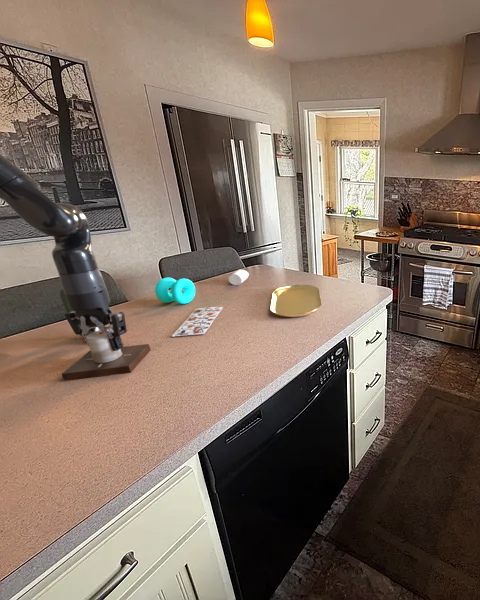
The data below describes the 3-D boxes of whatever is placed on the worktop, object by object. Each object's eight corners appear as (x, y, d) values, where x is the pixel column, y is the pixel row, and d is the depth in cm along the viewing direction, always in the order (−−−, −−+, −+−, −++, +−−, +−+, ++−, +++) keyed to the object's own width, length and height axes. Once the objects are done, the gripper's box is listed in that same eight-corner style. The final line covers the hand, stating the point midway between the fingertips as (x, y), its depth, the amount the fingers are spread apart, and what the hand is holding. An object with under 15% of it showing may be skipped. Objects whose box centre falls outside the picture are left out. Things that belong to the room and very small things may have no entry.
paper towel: (196, 308, 123) (223, 306, 125) (196, 308, 123) (223, 306, 125) (171, 336, 101) (204, 333, 103) (171, 337, 101) (204, 334, 103)
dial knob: (110, 363, 83) (101, 337, 81) (88, 363, 83) (78, 337, 81) (127, 352, 89) (119, 327, 86) (106, 352, 88) (97, 328, 86)
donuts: (180, 308, 123) (173, 283, 120) (157, 306, 125) (150, 281, 121) (199, 299, 132) (194, 275, 129) (177, 297, 134) (171, 274, 130)
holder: (64, 380, 79) (60, 373, 79) (92, 356, 90) (90, 349, 90) (131, 372, 83) (128, 365, 82) (150, 349, 94) (148, 343, 93)
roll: (252, 277, 161) (250, 266, 159) (242, 285, 149) (240, 273, 147) (240, 277, 160) (238, 266, 158) (229, 285, 149) (227, 273, 147)
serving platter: (317, 286, 149) (317, 283, 149) (324, 315, 118) (323, 311, 117) (274, 289, 144) (274, 286, 143) (269, 321, 113) (268, 317, 112)
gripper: (41, 292, 76) (66, 354, 82) (98, 294, 75) (120, 357, 81) (73, 282, 83) (95, 341, 89) (126, 284, 82) (144, 343, 88)
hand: (106, 348), depth 85 cm, fingers closed on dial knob, 5 cm apart
